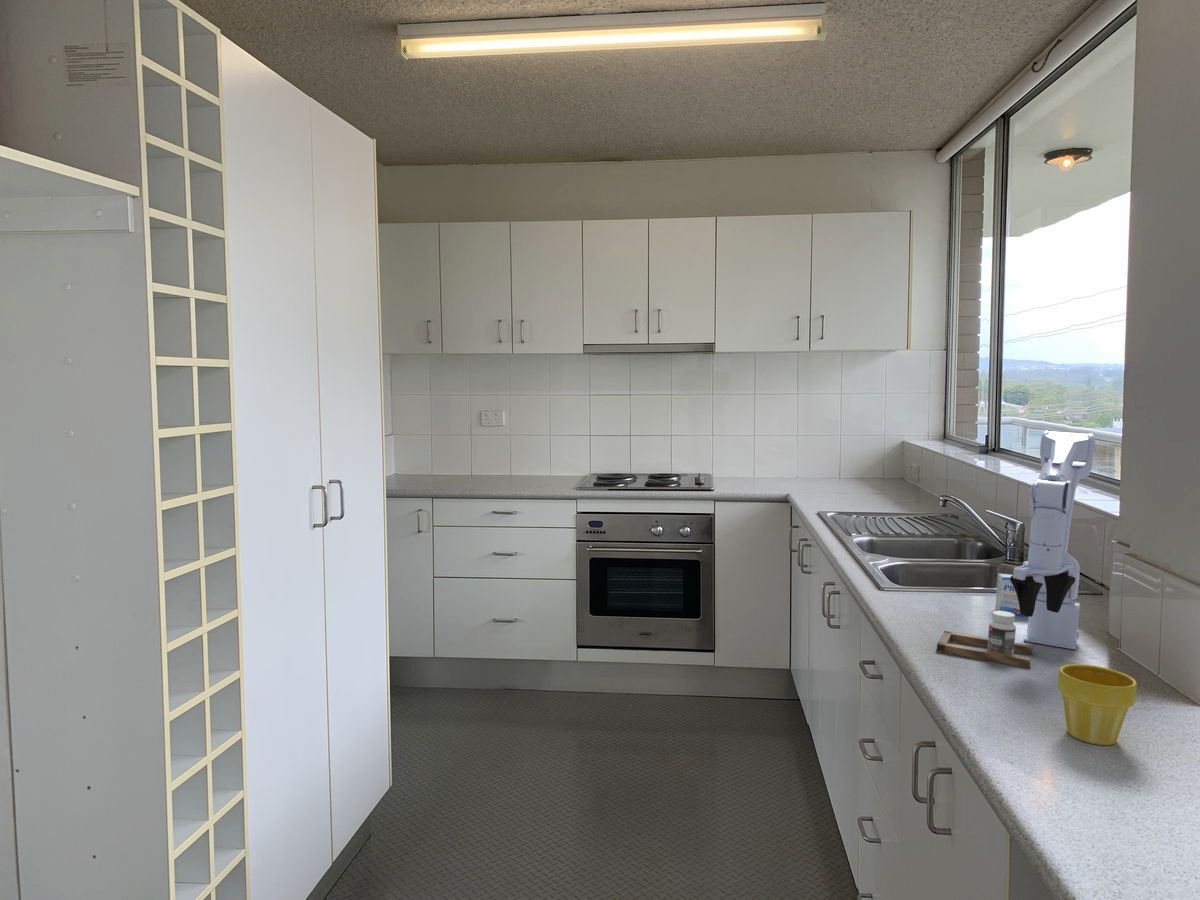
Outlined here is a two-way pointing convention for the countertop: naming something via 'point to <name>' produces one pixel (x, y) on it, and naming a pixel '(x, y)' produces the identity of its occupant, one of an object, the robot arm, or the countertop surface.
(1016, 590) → the robot arm
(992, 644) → the pill bottle
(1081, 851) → the countertop surface
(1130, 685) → the plant pot
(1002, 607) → the medicine box
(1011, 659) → the walnut guide channel
